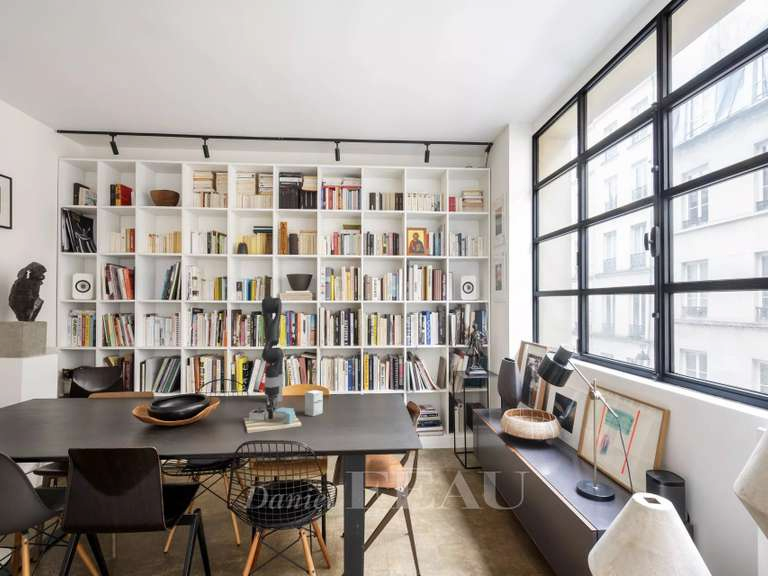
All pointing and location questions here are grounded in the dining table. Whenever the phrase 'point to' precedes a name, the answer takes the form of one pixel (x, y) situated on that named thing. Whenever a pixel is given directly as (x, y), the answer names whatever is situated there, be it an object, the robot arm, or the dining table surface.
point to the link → (265, 415)
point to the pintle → (258, 409)
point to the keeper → (287, 414)
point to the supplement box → (313, 402)
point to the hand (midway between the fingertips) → (271, 417)
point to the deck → (268, 425)
